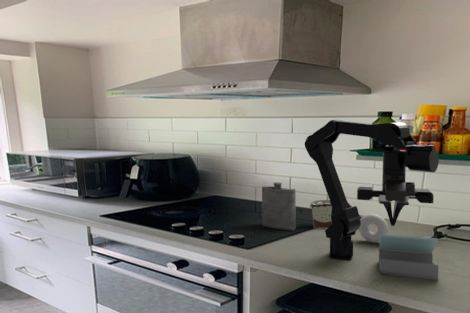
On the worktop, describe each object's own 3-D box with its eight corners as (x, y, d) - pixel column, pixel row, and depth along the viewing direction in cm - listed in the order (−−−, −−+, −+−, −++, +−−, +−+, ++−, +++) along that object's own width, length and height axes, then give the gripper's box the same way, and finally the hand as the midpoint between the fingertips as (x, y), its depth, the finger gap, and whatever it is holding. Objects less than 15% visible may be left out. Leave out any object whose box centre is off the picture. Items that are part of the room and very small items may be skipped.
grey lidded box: (380, 273, 101) (380, 259, 100) (378, 261, 109) (378, 248, 109) (437, 280, 96) (438, 265, 96) (431, 267, 105) (431, 253, 104)
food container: (336, 223, 151) (336, 199, 150) (341, 227, 145) (341, 202, 144) (306, 224, 150) (306, 200, 149) (310, 228, 144) (310, 203, 143)
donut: (356, 241, 128) (357, 213, 127) (359, 238, 131) (360, 211, 130) (387, 246, 122) (387, 217, 121) (389, 243, 125) (390, 214, 124)
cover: (380, 236, 101) (380, 232, 102) (379, 248, 109) (378, 245, 109) (438, 240, 97) (437, 237, 97) (432, 253, 104) (431, 250, 105)
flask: (292, 231, 141) (292, 184, 139) (260, 226, 149) (259, 181, 147) (296, 229, 144) (296, 183, 142) (264, 223, 152) (264, 180, 150)
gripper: (357, 172, 95) (356, 231, 97) (438, 174, 89) (436, 237, 91) (357, 166, 106) (356, 220, 107) (430, 168, 100) (428, 225, 101)
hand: (392, 225), depth 101 cm, fingers closed
